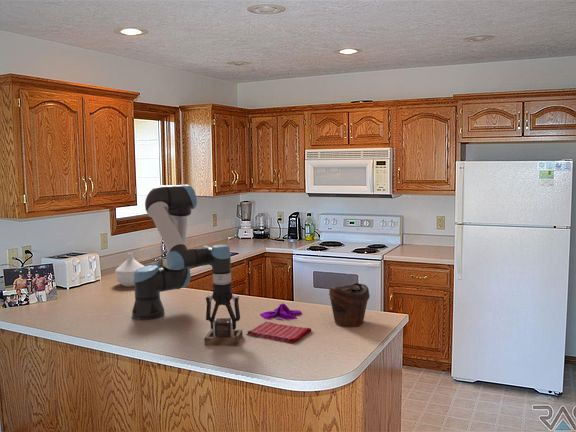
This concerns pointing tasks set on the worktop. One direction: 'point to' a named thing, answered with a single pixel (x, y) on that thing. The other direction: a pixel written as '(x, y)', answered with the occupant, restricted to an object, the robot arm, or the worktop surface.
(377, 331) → the worktop surface
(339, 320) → the dark brown lidded bucket
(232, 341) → the brown wooden shallow tray
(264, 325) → the dish towel
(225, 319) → the box
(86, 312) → the worktop surface
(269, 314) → the cloth
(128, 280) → the vase
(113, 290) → the worktop surface
